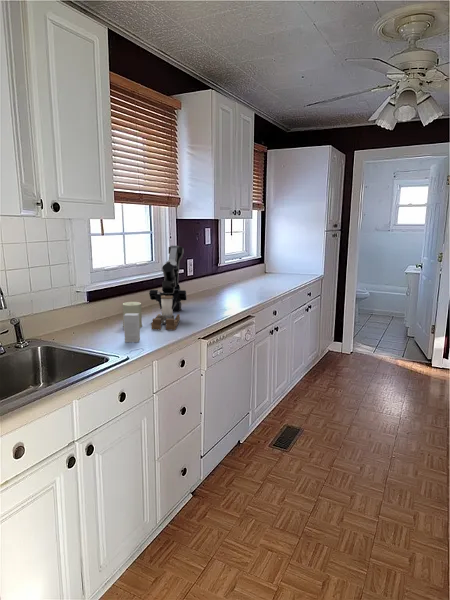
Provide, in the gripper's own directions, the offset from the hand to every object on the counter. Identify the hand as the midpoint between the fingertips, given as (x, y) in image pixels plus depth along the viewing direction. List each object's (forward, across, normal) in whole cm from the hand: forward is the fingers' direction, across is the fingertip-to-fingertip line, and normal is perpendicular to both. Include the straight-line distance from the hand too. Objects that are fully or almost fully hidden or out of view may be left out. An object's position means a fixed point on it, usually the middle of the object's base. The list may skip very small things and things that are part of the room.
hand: (166, 308), depth 210 cm
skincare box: (+28, -10, -16) cm, 34 cm away
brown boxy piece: (+7, 0, +4) cm, 8 cm away
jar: (+4, 0, +6) cm, 7 cm away
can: (+10, -16, +1) cm, 19 cm away
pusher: (+9, 0, +1) cm, 9 cm away
